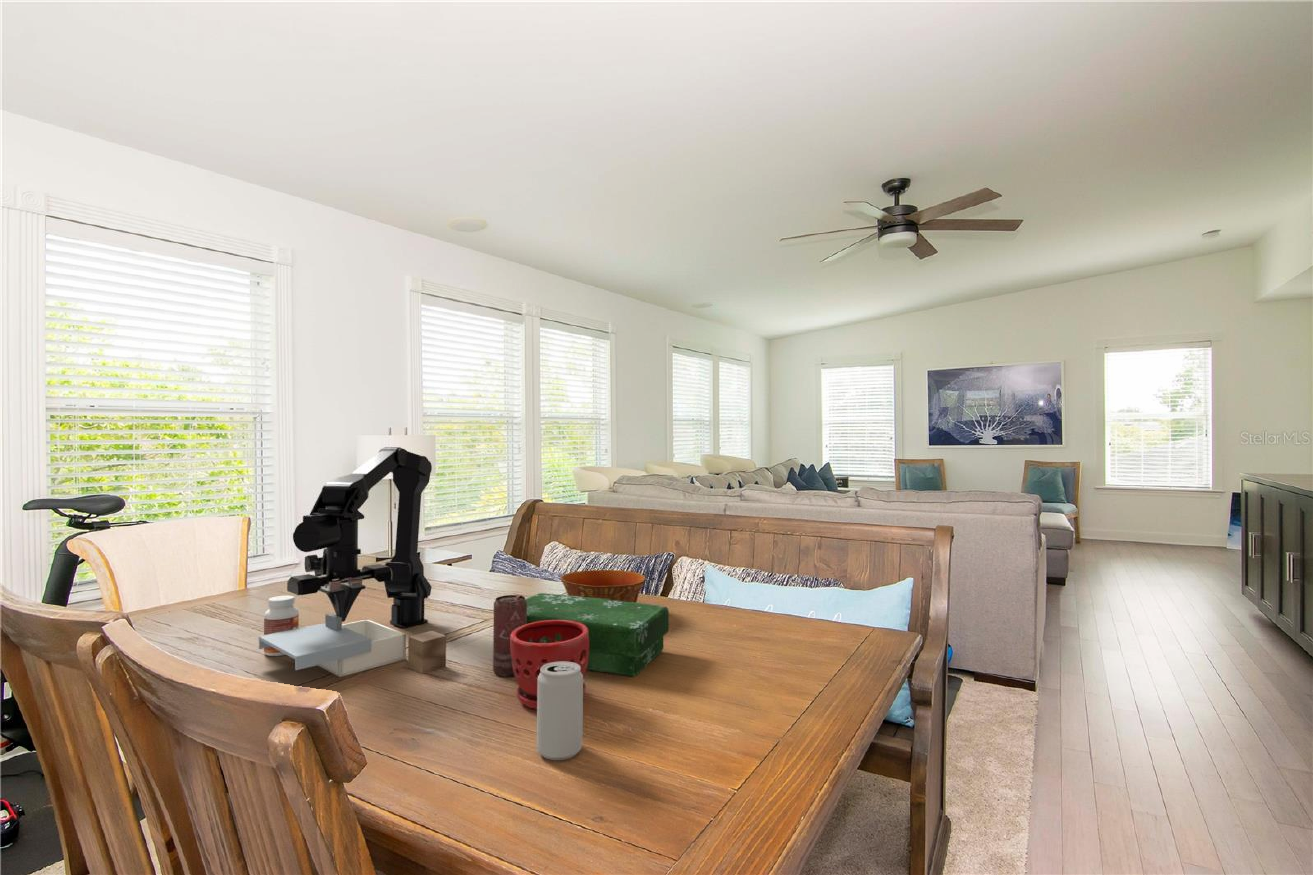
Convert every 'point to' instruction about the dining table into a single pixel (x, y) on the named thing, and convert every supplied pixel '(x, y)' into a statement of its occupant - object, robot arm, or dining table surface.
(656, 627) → the box
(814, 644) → the dining table surface
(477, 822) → the dining table surface
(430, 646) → the walnut block
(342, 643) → the lid
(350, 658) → the box
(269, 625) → the pill bottle
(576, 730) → the beverage can
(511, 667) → the can
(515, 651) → the plant pot
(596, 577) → the bowl
